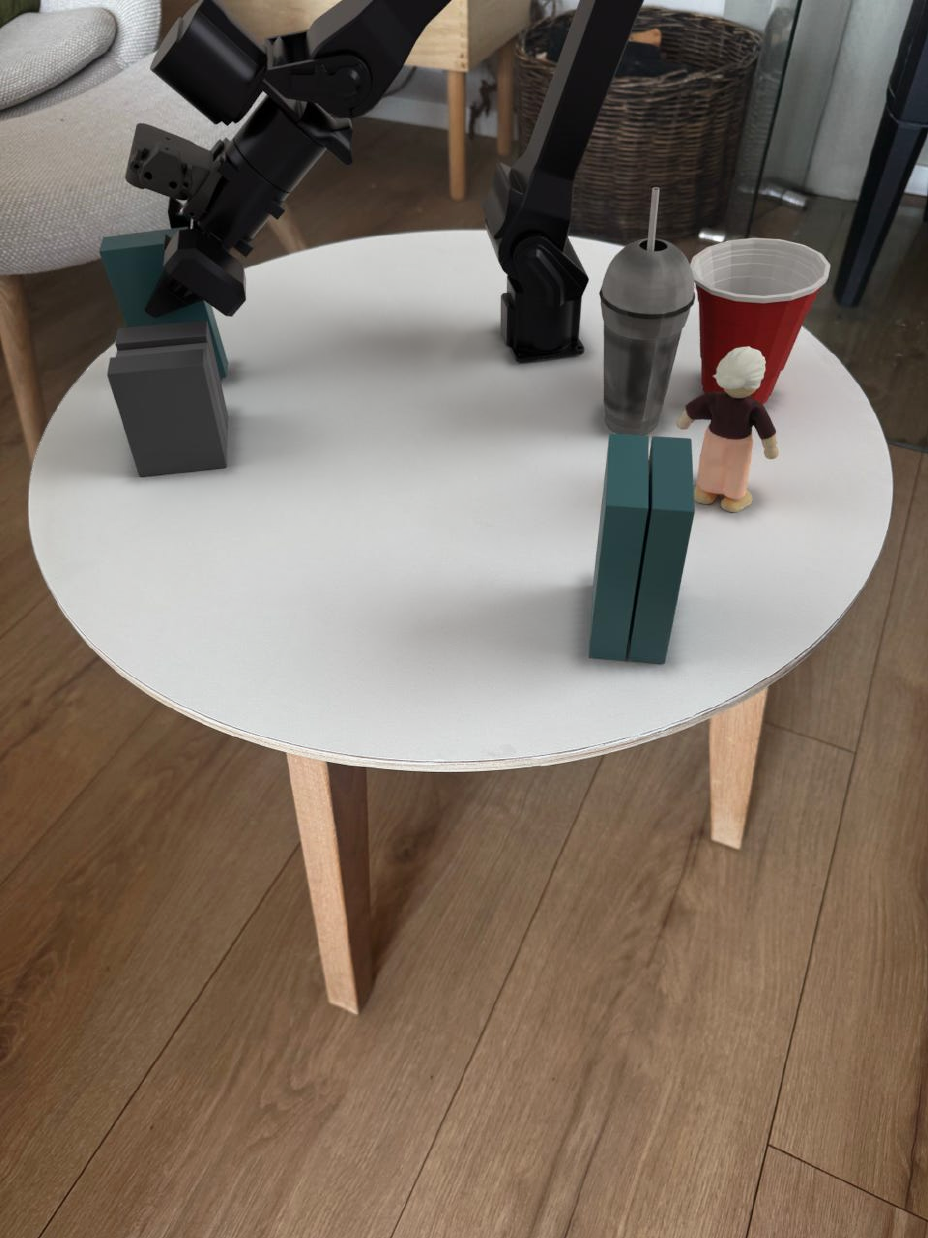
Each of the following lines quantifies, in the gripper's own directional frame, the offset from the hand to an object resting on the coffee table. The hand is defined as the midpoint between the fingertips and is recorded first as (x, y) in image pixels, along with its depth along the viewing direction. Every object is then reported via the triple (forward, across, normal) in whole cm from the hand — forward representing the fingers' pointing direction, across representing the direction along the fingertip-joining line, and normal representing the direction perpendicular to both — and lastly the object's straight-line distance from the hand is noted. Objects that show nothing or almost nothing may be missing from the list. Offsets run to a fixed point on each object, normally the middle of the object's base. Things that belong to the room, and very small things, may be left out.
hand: (150, 303), depth 84 cm
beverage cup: (-23, +14, +32) cm, 42 cm away
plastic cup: (-30, +11, +39) cm, 51 cm away
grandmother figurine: (-26, +25, +35) cm, 50 cm away
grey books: (+4, +11, +6) cm, 13 cm away
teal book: (+4, 0, +6) cm, 7 cm away
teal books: (-18, +37, +28) cm, 50 cm away
